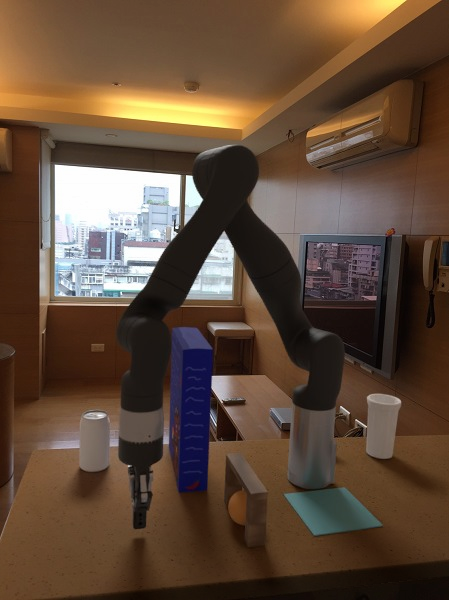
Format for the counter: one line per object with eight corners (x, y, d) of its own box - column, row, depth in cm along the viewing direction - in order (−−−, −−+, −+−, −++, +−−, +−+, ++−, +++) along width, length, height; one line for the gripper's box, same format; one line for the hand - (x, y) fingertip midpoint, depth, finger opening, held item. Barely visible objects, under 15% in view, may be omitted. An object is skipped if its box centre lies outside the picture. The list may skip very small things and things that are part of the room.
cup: (401, 462, 117) (406, 405, 115) (367, 461, 117) (372, 403, 115) (390, 448, 125) (395, 394, 123) (358, 446, 125) (363, 392, 123)
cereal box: (207, 490, 100) (213, 348, 96) (178, 492, 99) (183, 348, 95) (192, 445, 121) (197, 326, 117) (168, 446, 120) (172, 326, 116)
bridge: (238, 498, 97) (240, 452, 96) (264, 545, 83) (267, 491, 82) (224, 500, 97) (226, 454, 95) (248, 547, 82) (251, 493, 81)
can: (101, 474, 105) (102, 421, 103) (73, 470, 106) (74, 417, 104) (114, 461, 111) (114, 411, 109) (88, 457, 112) (88, 407, 111)
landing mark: (344, 488, 103) (344, 487, 103) (382, 526, 90) (383, 525, 90) (283, 495, 100) (283, 494, 100) (314, 536, 86) (314, 535, 86)
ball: (237, 519, 92) (260, 497, 93) (247, 538, 87) (272, 515, 87) (218, 499, 91) (242, 477, 91) (227, 518, 85) (252, 494, 86)
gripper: (169, 446, 77) (166, 547, 79) (157, 415, 90) (155, 503, 92) (121, 449, 75) (119, 553, 77) (116, 418, 87) (114, 508, 90)
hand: (139, 526), depth 84 cm, fingers closed
